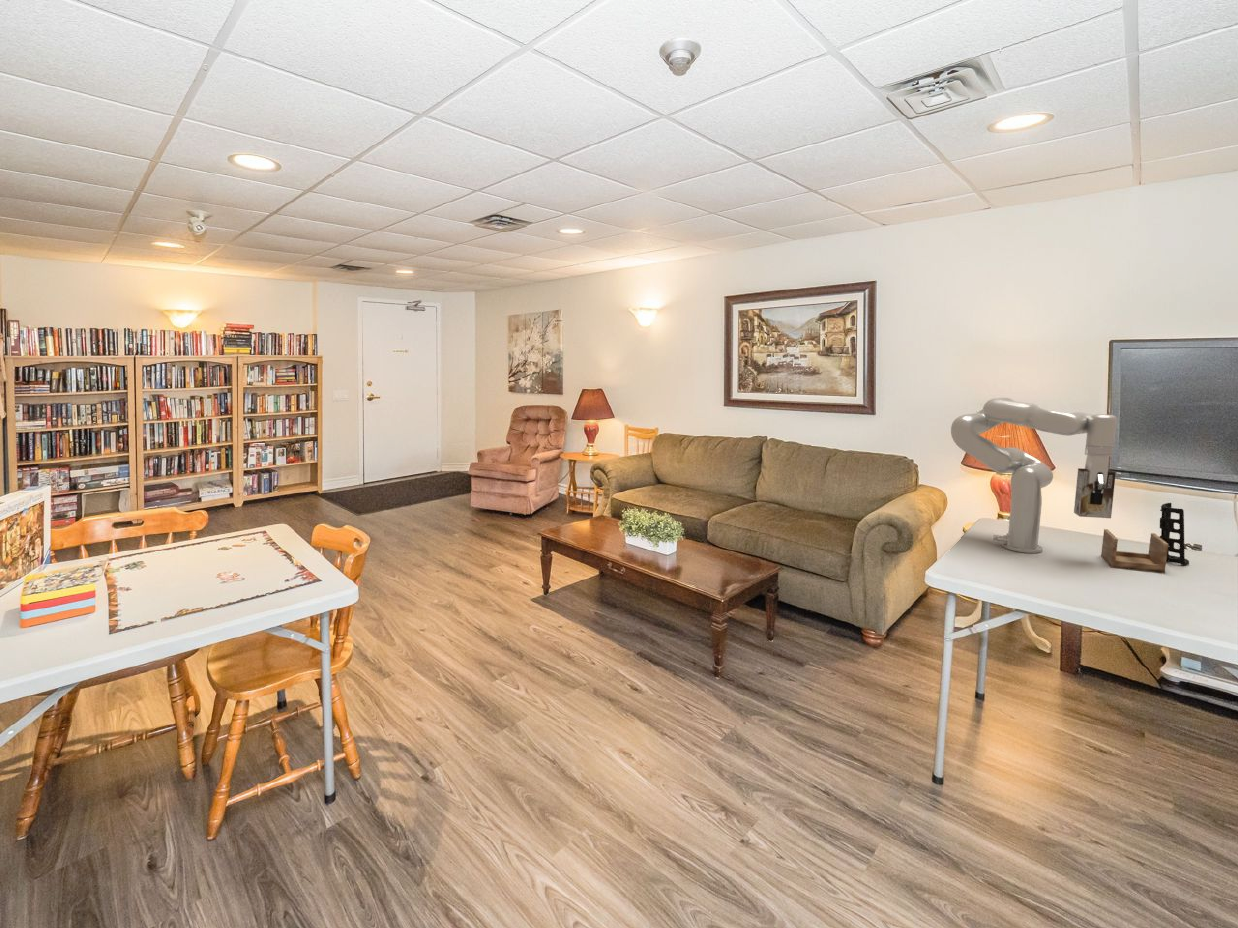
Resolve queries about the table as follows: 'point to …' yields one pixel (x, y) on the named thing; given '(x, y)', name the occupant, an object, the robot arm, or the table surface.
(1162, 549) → the cradle
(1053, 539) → the table surface
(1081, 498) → the coffee box
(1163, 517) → the holder
